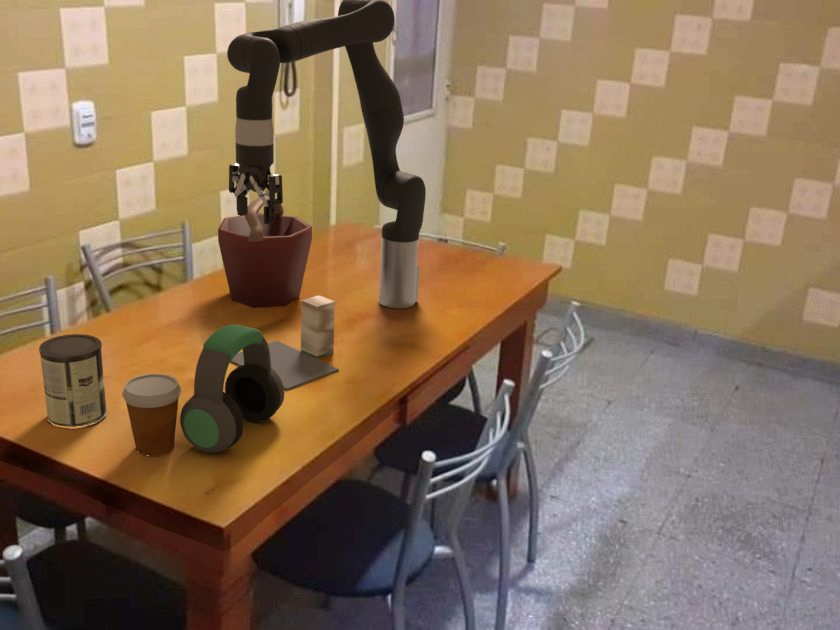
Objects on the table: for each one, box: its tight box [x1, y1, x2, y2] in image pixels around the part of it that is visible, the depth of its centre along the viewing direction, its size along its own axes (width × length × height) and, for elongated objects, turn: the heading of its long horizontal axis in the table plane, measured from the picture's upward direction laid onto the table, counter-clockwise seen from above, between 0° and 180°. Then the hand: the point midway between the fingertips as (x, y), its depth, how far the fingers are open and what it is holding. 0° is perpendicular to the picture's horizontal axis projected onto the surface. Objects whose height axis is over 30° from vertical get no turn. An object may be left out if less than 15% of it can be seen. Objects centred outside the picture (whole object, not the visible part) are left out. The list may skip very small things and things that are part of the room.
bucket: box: [217, 196, 313, 309], centre depth 221 cm, size 24×22×25 cm
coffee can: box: [38, 333, 108, 427], centre depth 160 cm, size 10×10×14 cm
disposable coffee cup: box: [121, 373, 182, 457], centre depth 151 cm, size 10×10×12 cm
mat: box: [230, 340, 339, 391], centre depth 187 cm, size 14×20×1 cm
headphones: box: [179, 323, 285, 454], centre depth 156 cm, size 19×11×20 cm, turn 156°
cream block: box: [300, 295, 336, 360], centre depth 192 cm, size 5×5×12 cm
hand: (255, 219), depth 184 cm, fingers open, 8 cm apart
